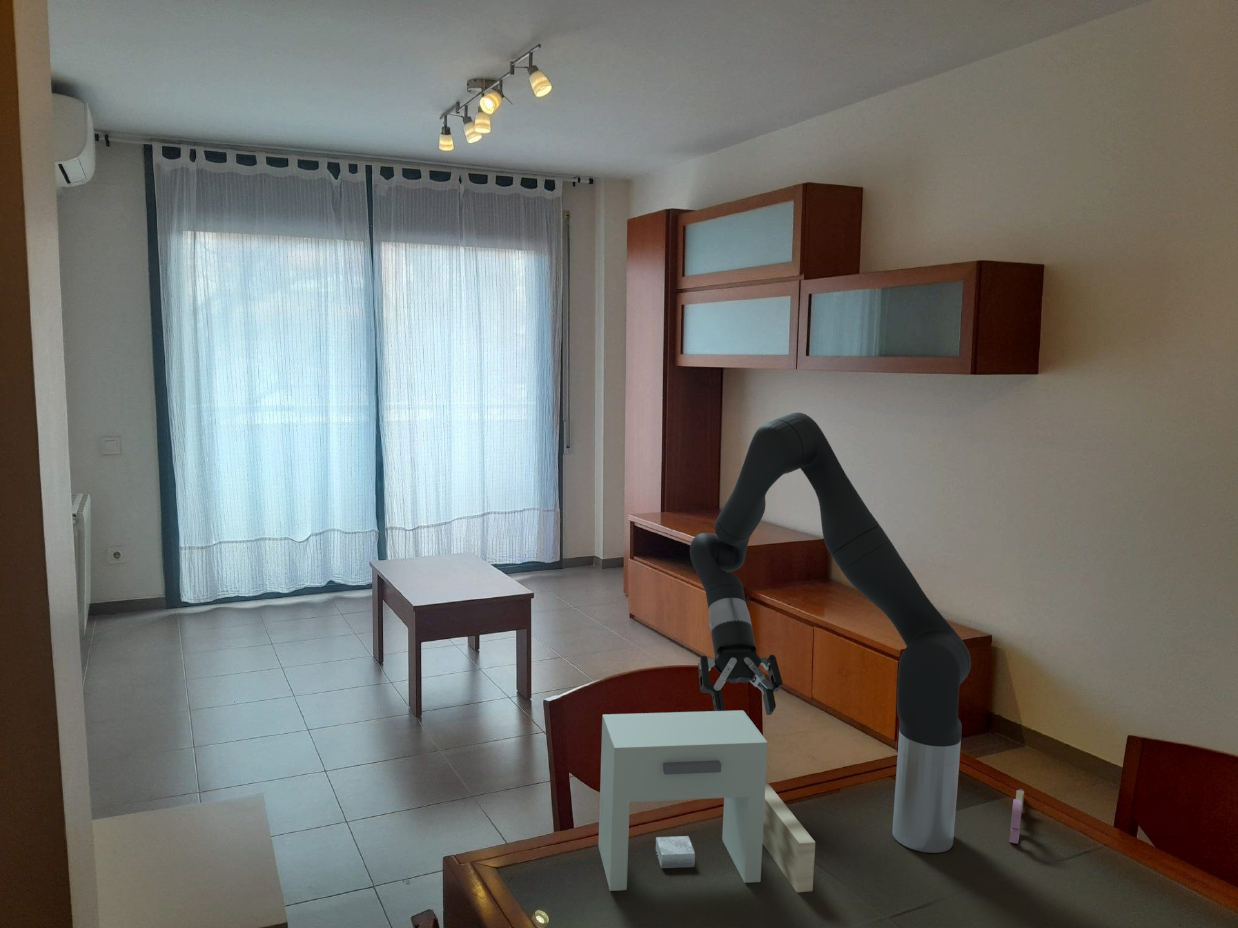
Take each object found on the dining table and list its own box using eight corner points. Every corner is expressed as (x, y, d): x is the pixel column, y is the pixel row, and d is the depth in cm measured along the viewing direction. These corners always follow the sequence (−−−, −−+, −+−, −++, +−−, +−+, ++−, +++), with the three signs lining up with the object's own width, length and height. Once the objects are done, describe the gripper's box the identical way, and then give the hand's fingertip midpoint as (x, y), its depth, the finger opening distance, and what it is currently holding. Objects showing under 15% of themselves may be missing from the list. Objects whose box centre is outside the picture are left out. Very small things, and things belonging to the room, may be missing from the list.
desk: (598, 846, 141) (602, 714, 138) (737, 838, 144) (743, 710, 142) (611, 895, 128) (615, 751, 125) (763, 886, 131) (770, 745, 129)
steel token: (655, 852, 140) (656, 837, 140) (687, 850, 141) (688, 835, 141) (661, 869, 135) (661, 854, 135) (694, 868, 136) (695, 853, 136)
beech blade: (744, 817, 152) (746, 774, 151) (757, 816, 152) (760, 773, 151) (796, 893, 130) (799, 843, 129) (812, 891, 131) (815, 841, 130)
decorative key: (1022, 814, 161) (1017, 848, 144) (1015, 812, 162) (1008, 846, 144) (1026, 775, 162) (1021, 804, 144) (1019, 774, 162) (1012, 802, 144)
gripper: (697, 619, 163) (710, 705, 153) (774, 618, 165) (792, 703, 155) (689, 639, 169) (701, 723, 159) (763, 638, 171) (780, 721, 161)
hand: (746, 713), depth 157 cm, fingers open, 8 cm apart
